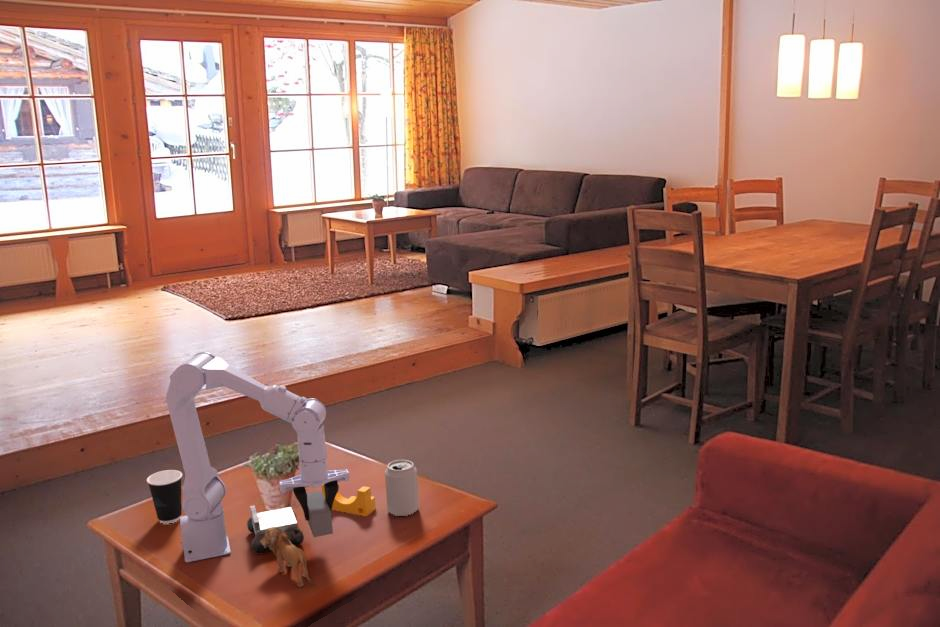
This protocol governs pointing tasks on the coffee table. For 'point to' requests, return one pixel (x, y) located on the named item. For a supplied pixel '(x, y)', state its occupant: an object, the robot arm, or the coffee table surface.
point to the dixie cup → (166, 495)
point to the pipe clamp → (355, 502)
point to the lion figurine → (286, 552)
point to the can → (401, 488)
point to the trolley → (273, 518)
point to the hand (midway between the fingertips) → (317, 516)
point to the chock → (319, 514)
